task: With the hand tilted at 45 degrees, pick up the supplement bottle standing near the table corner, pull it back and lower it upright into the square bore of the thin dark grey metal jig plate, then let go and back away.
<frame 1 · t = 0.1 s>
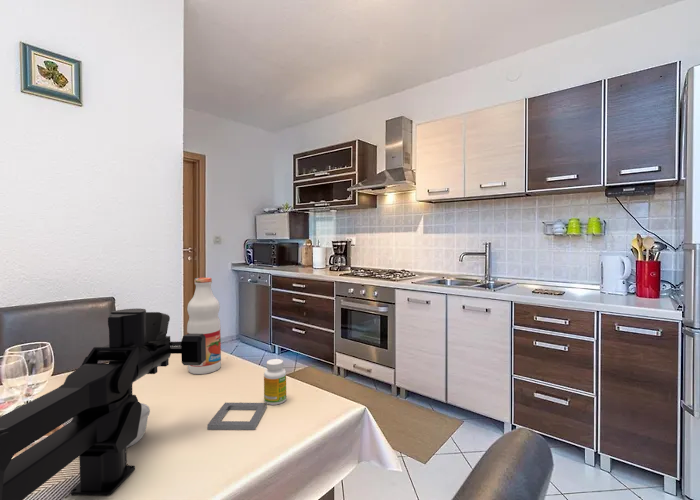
hand: (179, 338, 83), 17 cm above the table, tool horizontal, fingers open, 9 cm apart
fruit juice: (204, 369, 108), on the table
ramekin: (117, 441, 70), on the table
supplement bottle: (275, 401, 87), on the table
jig: (239, 417, 79), on the table
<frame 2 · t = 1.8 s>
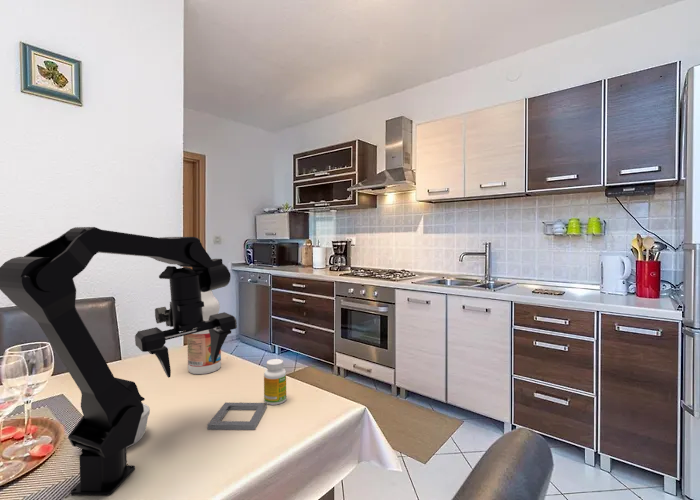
hand: (192, 369, 75), 12 cm above the table, tool pointing down, fingers open, 9 cm apart
nothing on the table moved.
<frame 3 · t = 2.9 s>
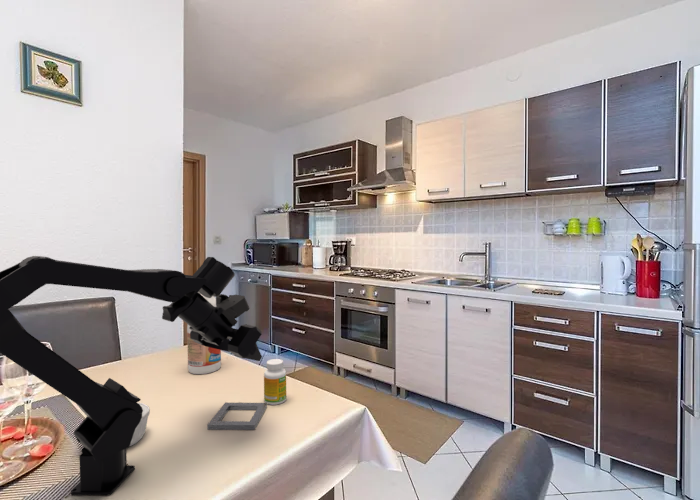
hand: (247, 354, 80), 14 cm above the table, tool tilted 45°, fingers open, 9 cm apart
nothing on the table moved.
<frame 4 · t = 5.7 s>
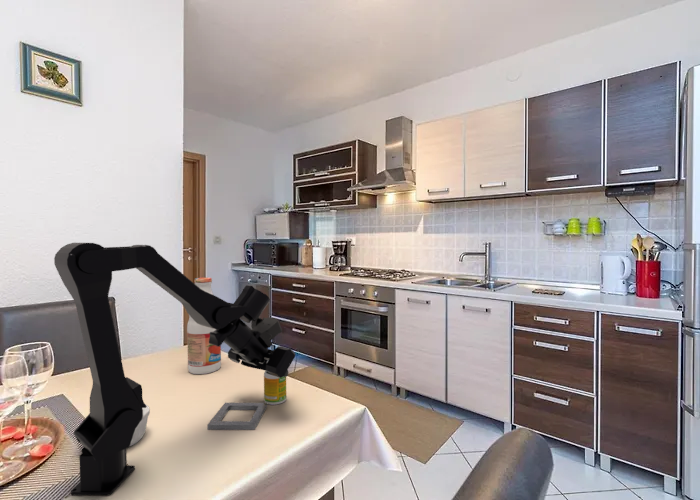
hand: (279, 372, 88), 7 cm above the table, tool tilted 45°, fingers closed on supplement bottle, 5 cm apart
supplement bottle: (275, 401, 87), on the table, touching gripper
everything else where it was.
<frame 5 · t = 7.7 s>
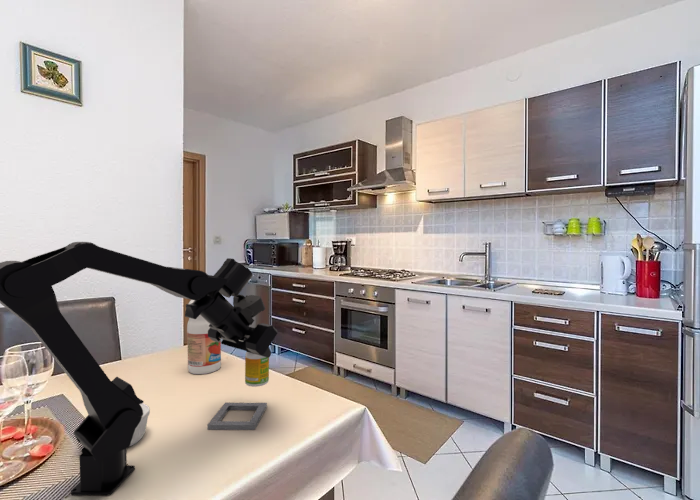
hand: (261, 353, 84), 13 cm above the table, tool tilted 45°, fingers closed on supplement bottle, 5 cm apart
supplement bottle: (257, 383, 83), point 6 cm above the table, touching gripper
everything else where it was.
when the fingers open (8 cm above the table, at t = 10.0 s): supplement bottle drops 1 cm, resting in jig.
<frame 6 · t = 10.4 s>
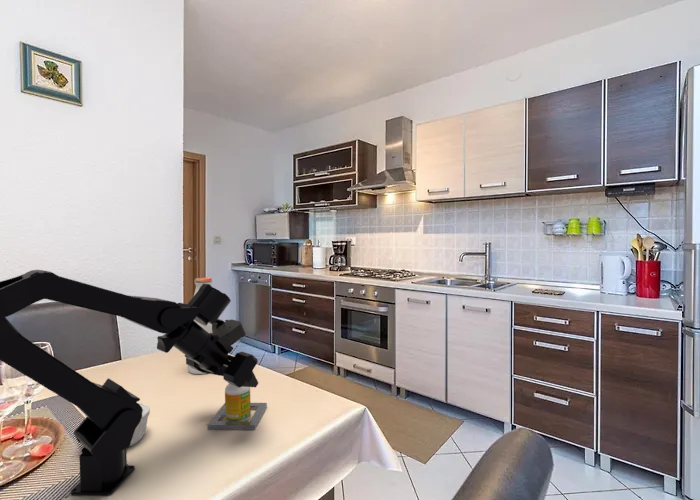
hand: (243, 379, 80), 8 cm above the table, tool tilted 45°, fingers open, 9 cm apart
supplement bottle: (238, 418, 79), resting in jig
everything else where it was.
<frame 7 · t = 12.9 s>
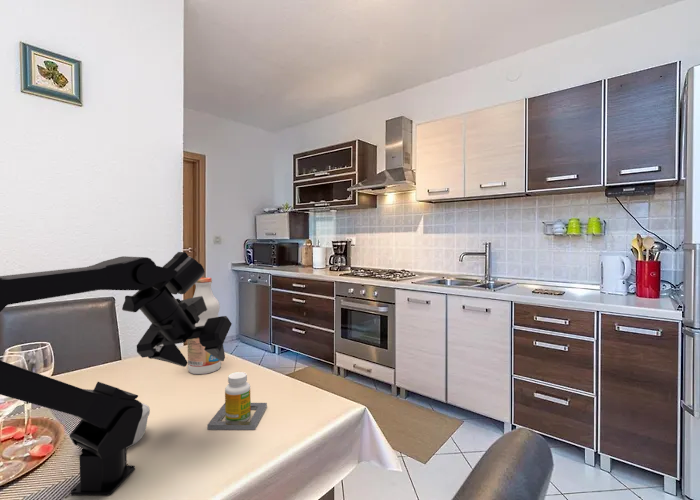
hand: (204, 362, 76), 14 cm above the table, tool tilted 35°, fingers open, 9 cm apart
nothing on the table moved.
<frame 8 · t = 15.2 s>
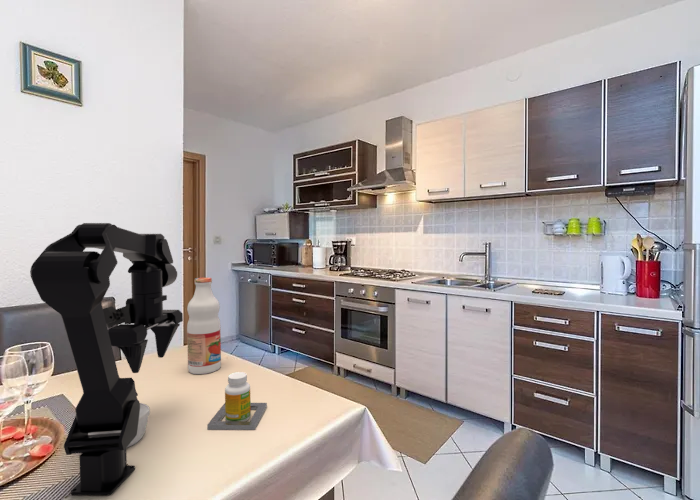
hand: (149, 364, 76), 13 cm above the table, tool pointing down, fingers open, 9 cm apart
nothing on the table moved.
at the end: supplement bottle 0.2 cm off-centre on the jig, point 0.0 cm above the jig's base; supplement bottle tilted 0°; the gripper is holding nothing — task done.
